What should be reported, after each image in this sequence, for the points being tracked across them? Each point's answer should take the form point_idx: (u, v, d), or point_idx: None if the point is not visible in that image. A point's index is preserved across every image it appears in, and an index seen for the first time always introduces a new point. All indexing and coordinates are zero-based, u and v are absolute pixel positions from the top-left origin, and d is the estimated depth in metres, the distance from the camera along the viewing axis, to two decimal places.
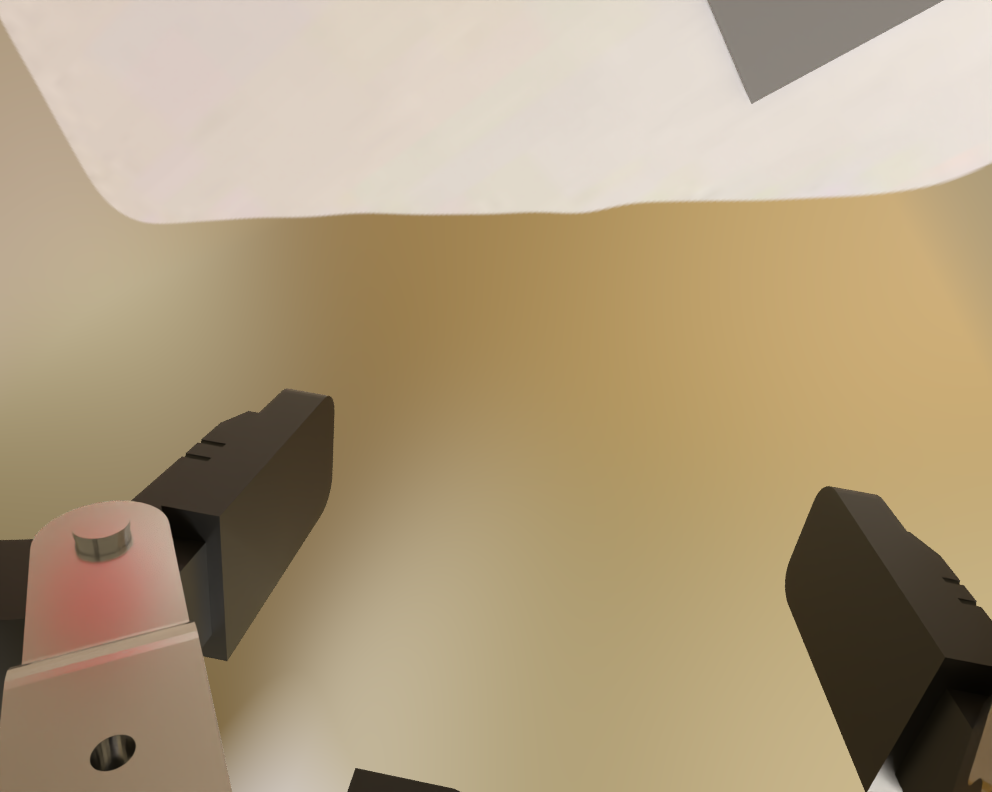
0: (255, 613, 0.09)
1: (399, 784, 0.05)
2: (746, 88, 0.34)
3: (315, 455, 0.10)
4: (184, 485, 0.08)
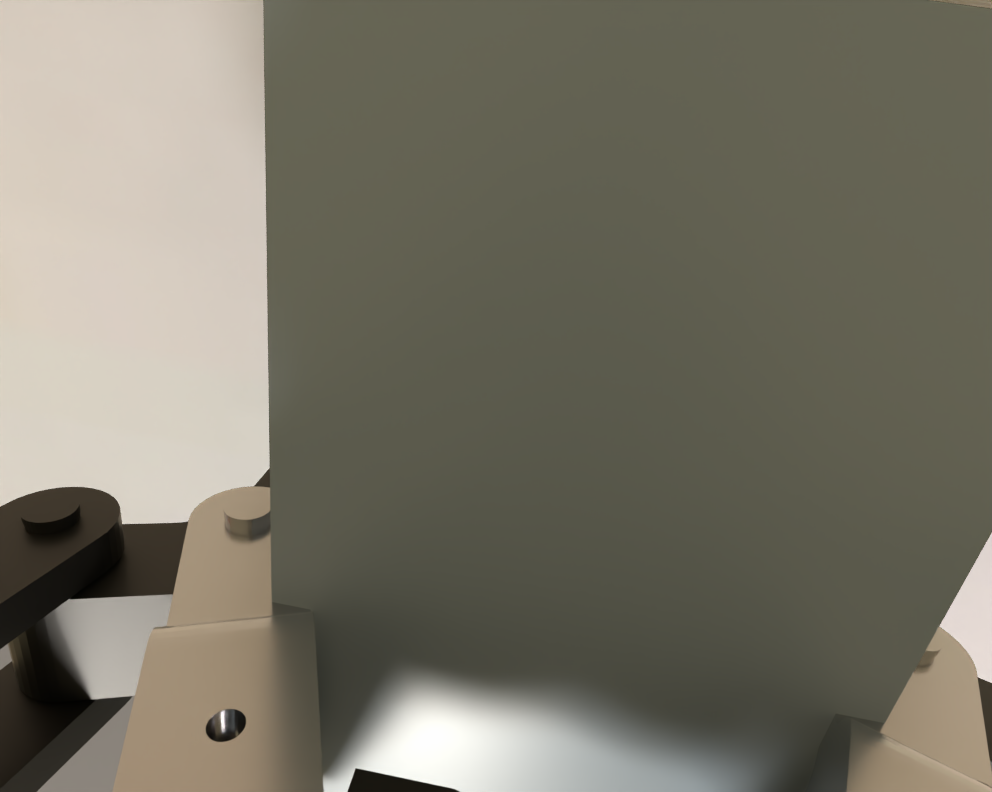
0: None
1: (398, 784, 0.05)
2: None
3: None
4: None
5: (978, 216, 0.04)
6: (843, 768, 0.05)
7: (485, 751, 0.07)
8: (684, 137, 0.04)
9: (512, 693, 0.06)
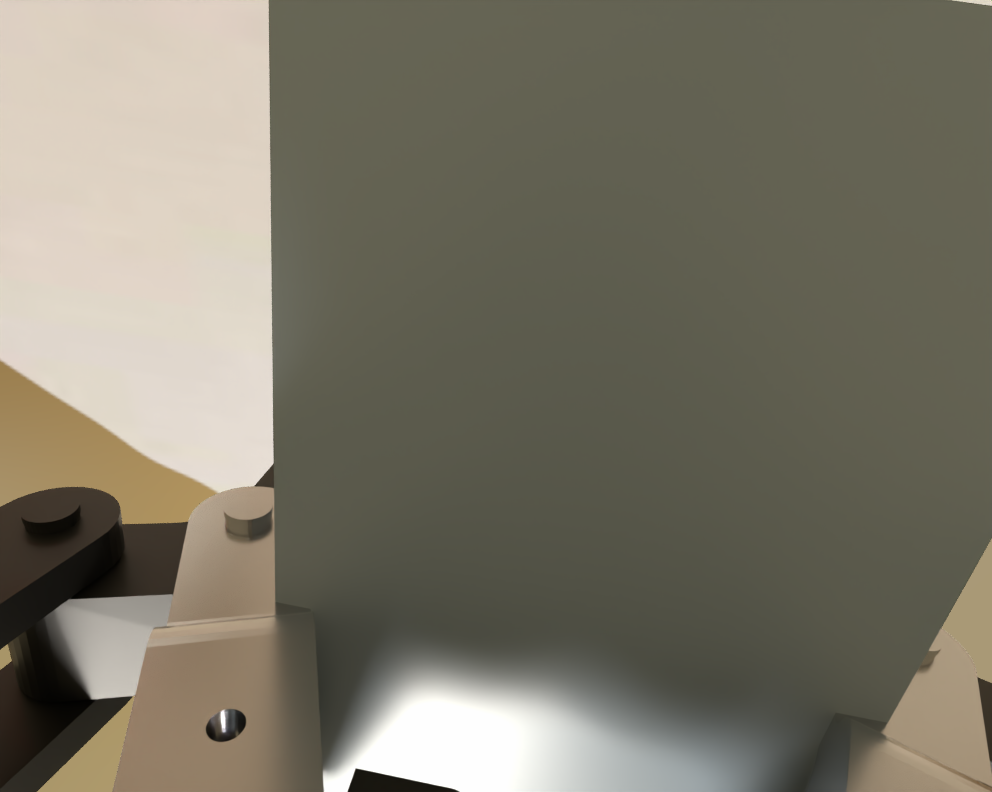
0: None
1: (399, 784, 0.05)
2: None
3: None
4: None
5: (983, 214, 0.04)
6: (843, 768, 0.05)
7: (488, 750, 0.07)
8: (689, 134, 0.04)
9: (515, 692, 0.06)
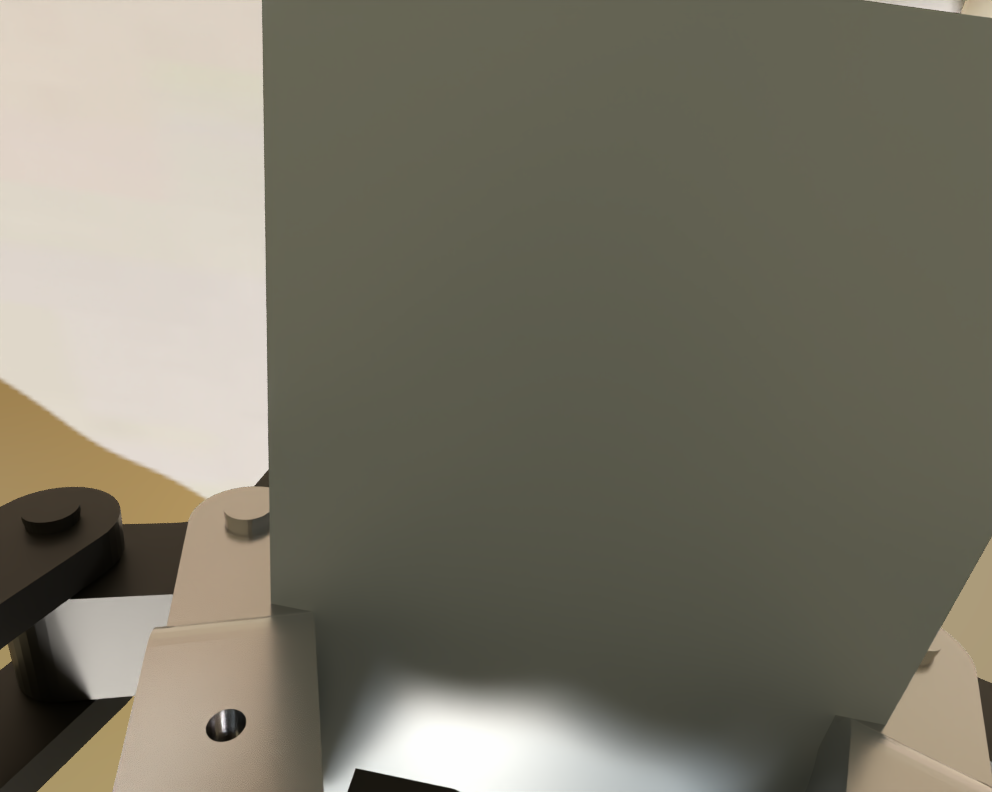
0: None
1: (399, 784, 0.05)
2: None
3: None
4: None
5: (977, 224, 0.04)
6: (843, 768, 0.05)
7: (484, 756, 0.07)
8: (684, 145, 0.04)
9: (511, 699, 0.06)
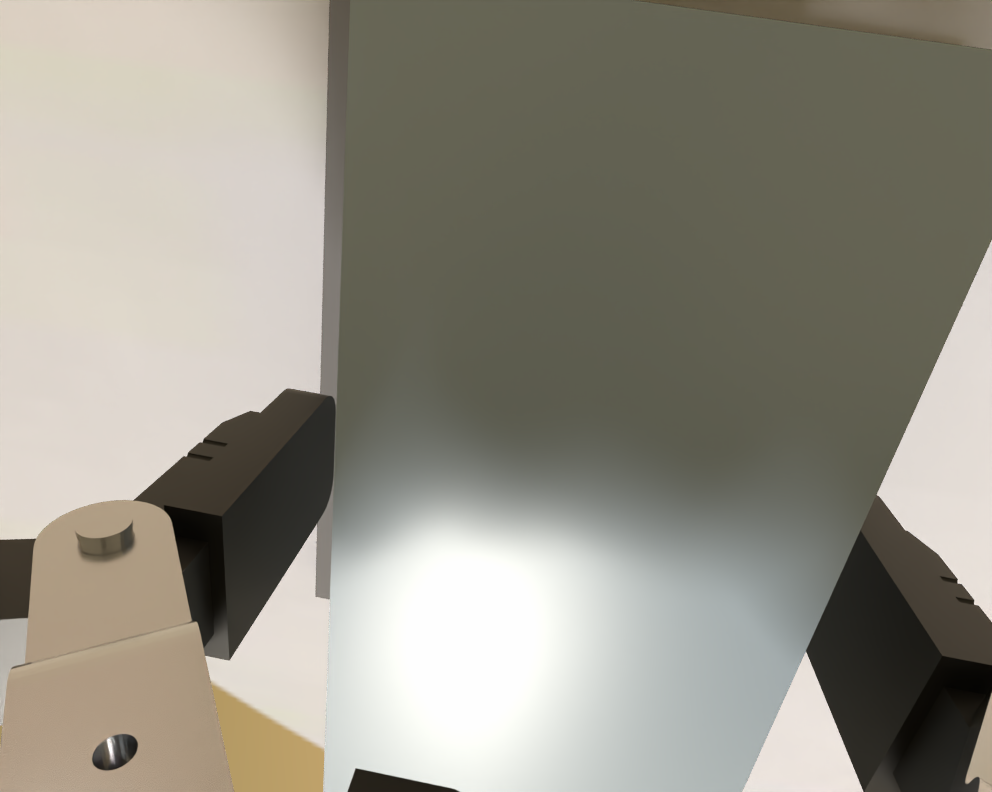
0: (257, 613, 0.09)
1: (399, 784, 0.05)
2: (318, 570, 0.17)
3: (316, 454, 0.10)
4: (187, 485, 0.08)
5: (879, 186, 0.05)
6: None
7: (505, 636, 0.08)
8: (661, 127, 0.05)
9: (527, 584, 0.08)
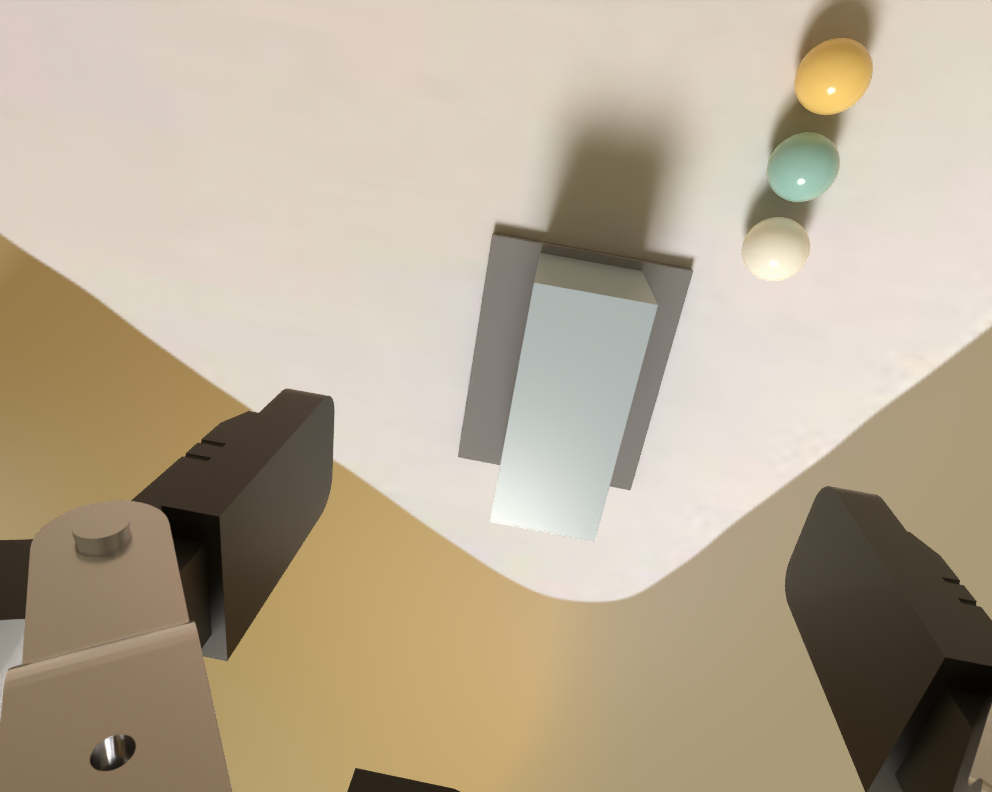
0: (255, 613, 0.09)
1: (399, 784, 0.05)
2: (460, 444, 0.41)
3: (314, 455, 0.10)
4: (184, 485, 0.08)
5: (629, 323, 0.29)
6: None
7: (553, 424, 0.32)
8: (589, 312, 0.29)
9: (560, 409, 0.31)
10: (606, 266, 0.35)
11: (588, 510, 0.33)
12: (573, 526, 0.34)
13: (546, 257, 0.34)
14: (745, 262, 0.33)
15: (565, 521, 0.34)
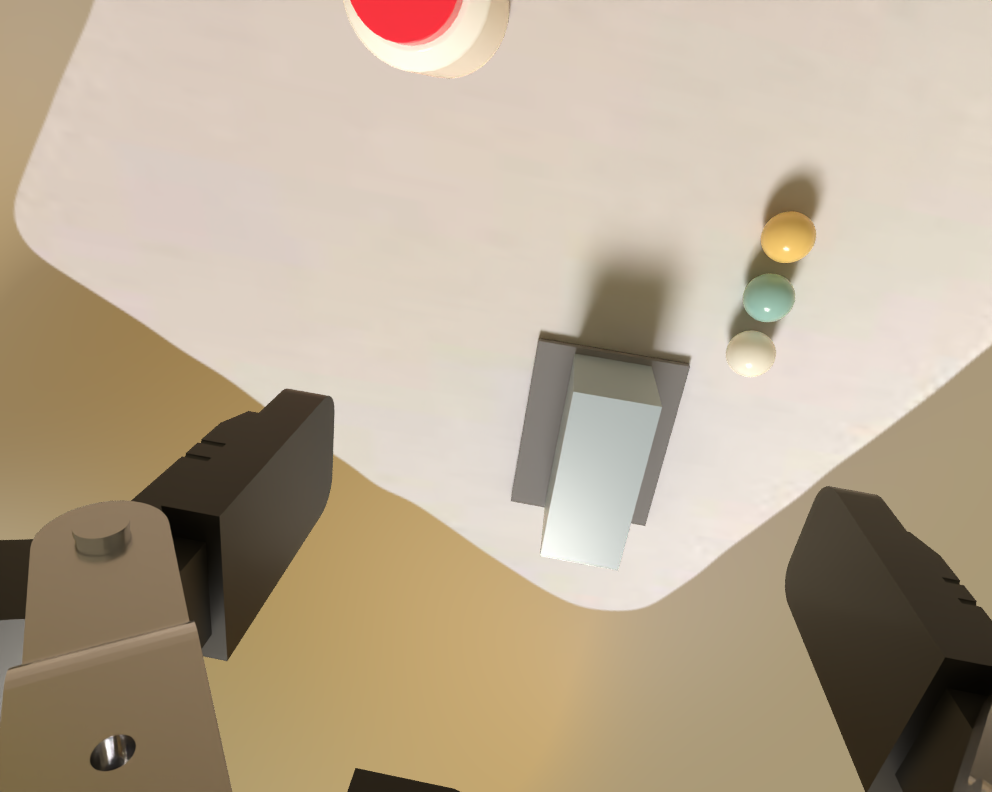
0: (255, 613, 0.09)
1: (399, 784, 0.05)
2: (513, 492, 0.53)
3: (315, 455, 0.10)
4: (184, 485, 0.08)
5: (641, 419, 0.41)
6: None
7: (587, 487, 0.44)
8: (613, 411, 0.41)
9: (592, 477, 0.43)
10: (624, 364, 0.47)
11: (613, 548, 0.45)
12: (602, 559, 0.46)
13: (579, 359, 0.46)
14: (728, 363, 0.45)
15: (596, 555, 0.46)
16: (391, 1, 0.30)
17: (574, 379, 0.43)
